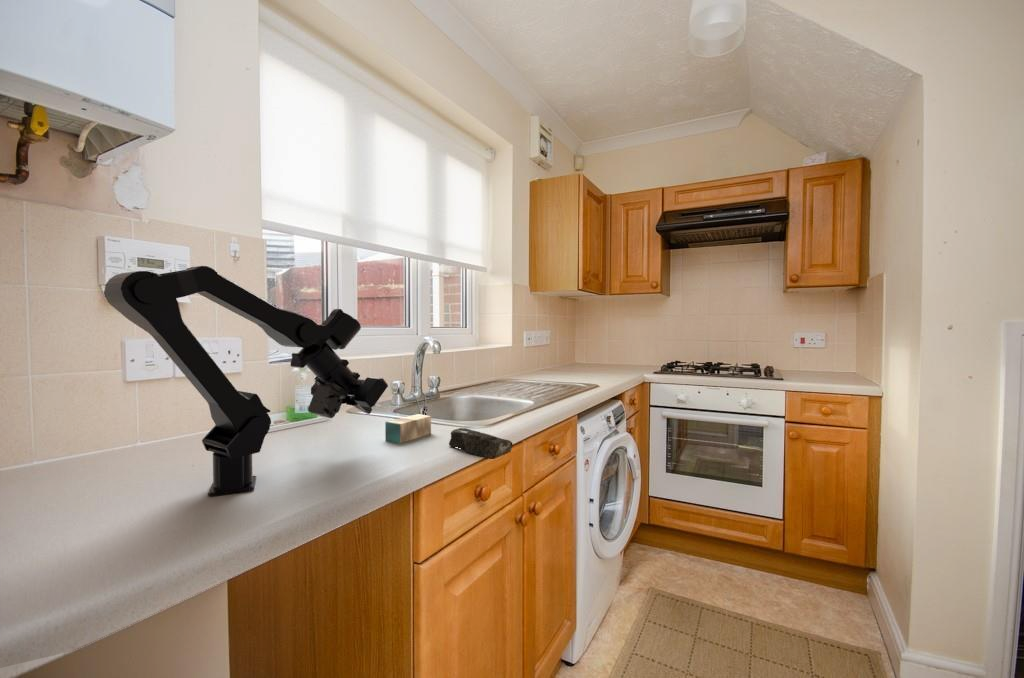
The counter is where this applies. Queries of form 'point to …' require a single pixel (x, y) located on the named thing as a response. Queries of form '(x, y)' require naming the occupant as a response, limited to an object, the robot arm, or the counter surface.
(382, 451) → the counter surface
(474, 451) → the rock
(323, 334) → the robot arm
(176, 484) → the counter surface
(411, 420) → the block
